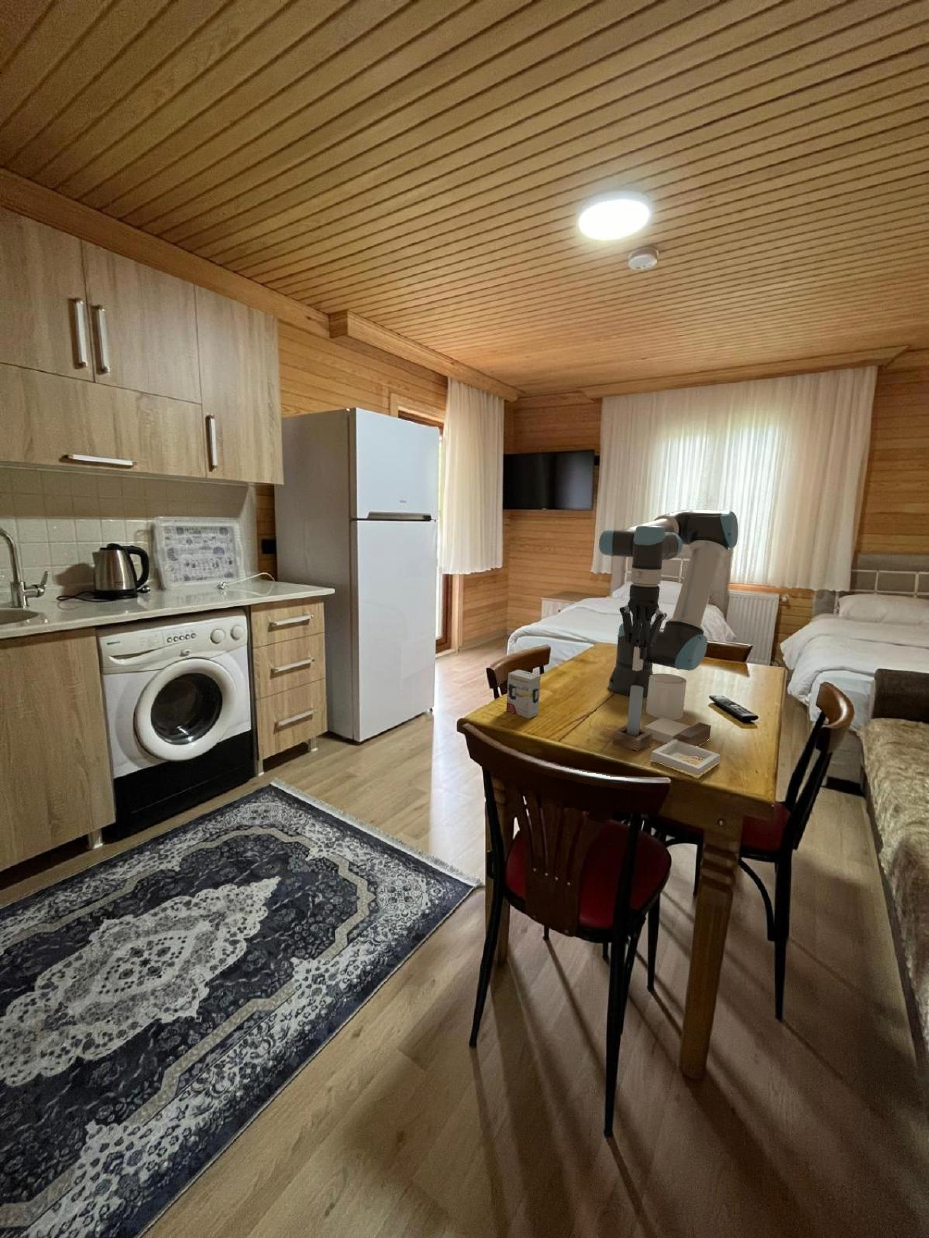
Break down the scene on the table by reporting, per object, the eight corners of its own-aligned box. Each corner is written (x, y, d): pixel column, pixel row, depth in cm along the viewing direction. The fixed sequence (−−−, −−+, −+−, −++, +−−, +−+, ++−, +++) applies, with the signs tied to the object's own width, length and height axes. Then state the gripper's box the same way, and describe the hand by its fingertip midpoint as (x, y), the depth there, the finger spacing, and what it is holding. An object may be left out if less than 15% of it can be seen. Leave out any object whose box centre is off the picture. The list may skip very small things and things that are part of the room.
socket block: (612, 742, 137) (613, 731, 137) (626, 735, 142) (627, 724, 141) (637, 751, 132) (638, 740, 131) (651, 744, 137) (652, 733, 136)
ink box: (505, 710, 157) (506, 672, 155) (515, 706, 161) (517, 668, 158) (529, 718, 151) (531, 679, 149) (539, 714, 155) (541, 675, 153)
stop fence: (676, 748, 134) (678, 733, 134) (698, 736, 142) (699, 722, 142) (688, 752, 132) (690, 737, 131) (709, 739, 140) (711, 725, 139)
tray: (651, 761, 127) (652, 751, 127) (673, 748, 135) (674, 739, 134) (697, 779, 119) (698, 768, 119) (718, 764, 127) (720, 754, 126)
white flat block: (642, 737, 142) (643, 726, 141) (661, 727, 149) (662, 717, 148) (671, 747, 136) (673, 736, 136) (689, 736, 143) (690, 726, 142)
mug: (682, 726, 149) (686, 689, 147) (644, 720, 153) (647, 684, 151) (682, 710, 162) (686, 676, 160) (647, 704, 165) (650, 671, 163)
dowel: (623, 742, 137) (628, 687, 134) (629, 739, 139) (634, 684, 136) (633, 746, 135) (639, 690, 132) (640, 743, 137) (645, 687, 134)
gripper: (615, 582, 144) (609, 666, 149) (661, 588, 135) (652, 678, 140) (630, 580, 149) (623, 661, 154) (675, 586, 140) (666, 672, 145)
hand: (637, 669), depth 147 cm, fingers closed
